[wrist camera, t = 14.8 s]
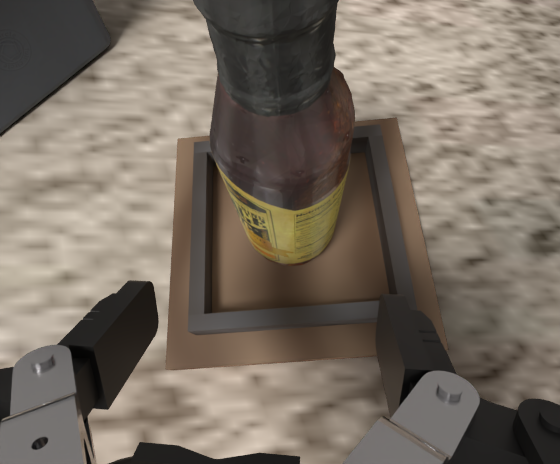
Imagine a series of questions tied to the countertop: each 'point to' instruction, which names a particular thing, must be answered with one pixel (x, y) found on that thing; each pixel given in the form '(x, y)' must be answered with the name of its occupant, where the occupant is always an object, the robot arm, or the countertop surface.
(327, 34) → the sauce bottle
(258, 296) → the socket board
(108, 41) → the storage bin
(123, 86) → the countertop surface
